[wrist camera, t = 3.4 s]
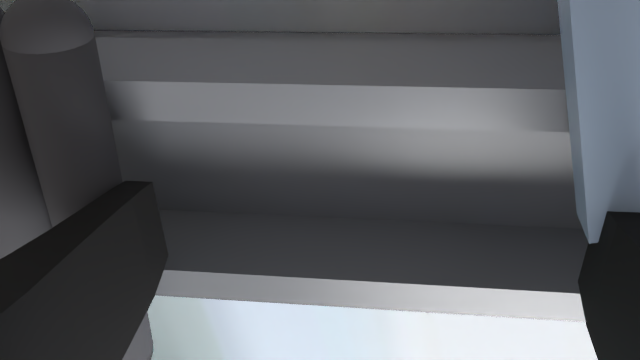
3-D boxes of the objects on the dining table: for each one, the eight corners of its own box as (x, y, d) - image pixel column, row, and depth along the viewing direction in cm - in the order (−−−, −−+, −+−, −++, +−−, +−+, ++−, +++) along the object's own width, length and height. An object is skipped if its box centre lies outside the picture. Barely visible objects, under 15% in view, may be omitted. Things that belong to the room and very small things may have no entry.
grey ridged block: (100, -17, 11) (63, 10, 10) (164, 348, 17) (145, 397, 15) (-145, -28, 12) (-214, -3, 10) (-3, 335, 17) (-35, 382, 16)
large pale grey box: (759, 36, 13) (842, 95, 11) (678, 248, 17) (728, 330, 14) (75, 29, 15) (9, 78, 13) (124, 222, 18) (80, 290, 16)
